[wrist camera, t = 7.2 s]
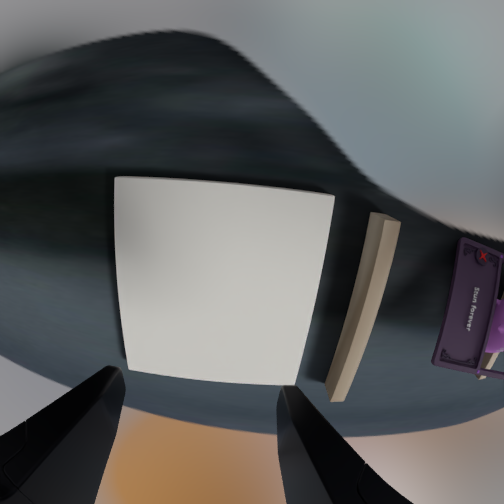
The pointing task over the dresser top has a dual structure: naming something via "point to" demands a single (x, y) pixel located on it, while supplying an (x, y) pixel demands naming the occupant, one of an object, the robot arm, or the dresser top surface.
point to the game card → (472, 311)
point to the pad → (217, 276)
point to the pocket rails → (368, 305)
